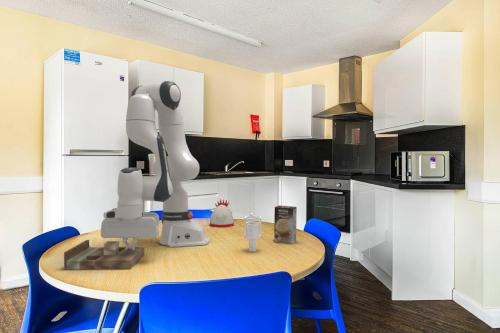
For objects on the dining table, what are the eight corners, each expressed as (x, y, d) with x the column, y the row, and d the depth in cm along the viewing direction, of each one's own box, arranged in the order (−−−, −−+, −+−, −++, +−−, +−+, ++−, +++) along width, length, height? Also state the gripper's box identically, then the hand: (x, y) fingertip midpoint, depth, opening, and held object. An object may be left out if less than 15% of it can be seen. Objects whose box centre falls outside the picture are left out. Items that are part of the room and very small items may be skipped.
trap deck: (144, 254, 133) (144, 239, 133) (130, 269, 115) (130, 251, 115) (86, 255, 132) (86, 239, 132) (64, 270, 114) (64, 252, 114)
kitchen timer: (233, 227, 188) (233, 200, 188) (208, 227, 188) (208, 200, 188) (234, 223, 202) (234, 198, 202) (211, 223, 202) (211, 197, 202)
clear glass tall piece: (259, 248, 144) (259, 212, 144) (262, 252, 137) (262, 215, 137) (242, 248, 143) (243, 213, 142) (245, 253, 136) (245, 215, 136)
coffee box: (273, 242, 155) (273, 206, 155) (278, 239, 161) (278, 205, 160) (292, 244, 151) (292, 208, 151) (296, 241, 157) (297, 206, 156)
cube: (118, 251, 126) (118, 241, 126) (115, 254, 122) (115, 243, 122) (107, 252, 126) (107, 241, 126) (103, 254, 122) (103, 243, 122)
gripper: (160, 210, 128) (160, 247, 128) (105, 210, 127) (105, 247, 127) (157, 213, 121) (157, 251, 122) (98, 213, 120) (98, 252, 120)
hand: (130, 249), depth 124 cm, fingers closed
